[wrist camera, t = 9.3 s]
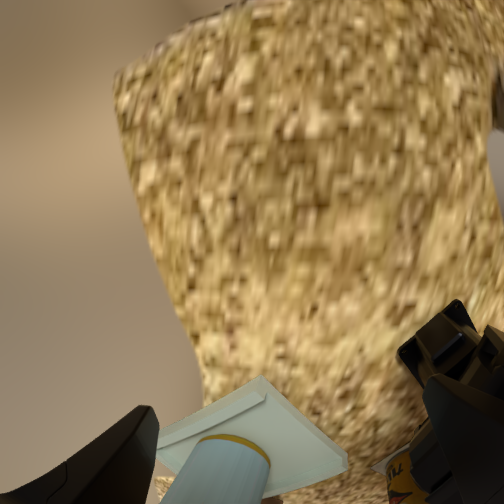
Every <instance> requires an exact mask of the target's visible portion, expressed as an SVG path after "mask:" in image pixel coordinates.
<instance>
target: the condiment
mask: <svg viewBox="0 0 504 504" xmlns="http://www.w3.org/2000/svg"><path fill="white" fill-rule="evenodd" d="M409 444H410V443H408V444H407V445H405V446H403V447H402V448H400V449H399V450H397V451H395V452H394V453H393V454H391V455H389V456H388V457H386V458H385V459H383V460H382V461H380V462H378V463H377V464H375V465H374V466H372V467H371V468H370V469H372V470H374V471H376V472H378V473H381V474H383V475H385V476H386V479H387V489H388V496H389V504H429V503H426V502H425V500H424V499H425V497H427V496H428V494H426V493H425V492H423V491H422V490H420V489H419V488H418V487H417V486H416V484H415V483H414V481H413V479H412V477H411V475H410V462H411V459H410V456H409Z"/></svg>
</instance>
